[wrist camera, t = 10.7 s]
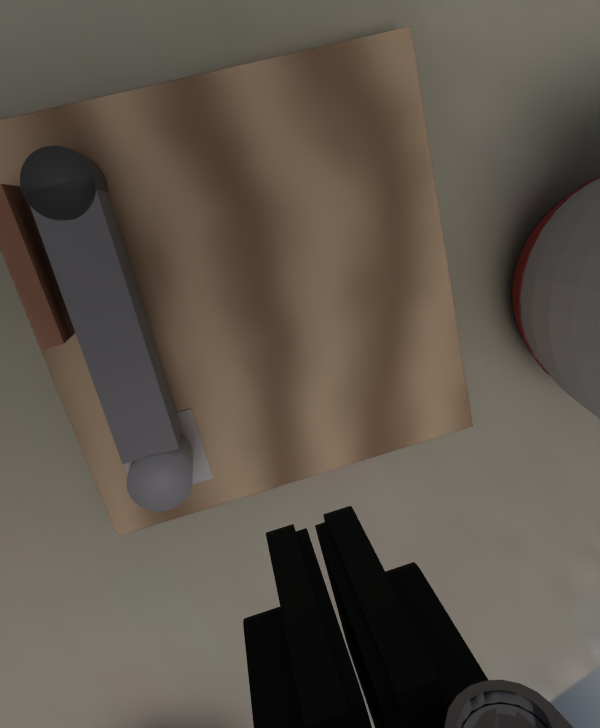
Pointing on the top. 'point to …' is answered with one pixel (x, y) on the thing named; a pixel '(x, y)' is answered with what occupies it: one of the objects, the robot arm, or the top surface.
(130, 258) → the flat wooden plank
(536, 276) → the citrus juicer
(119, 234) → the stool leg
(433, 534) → the top surface
